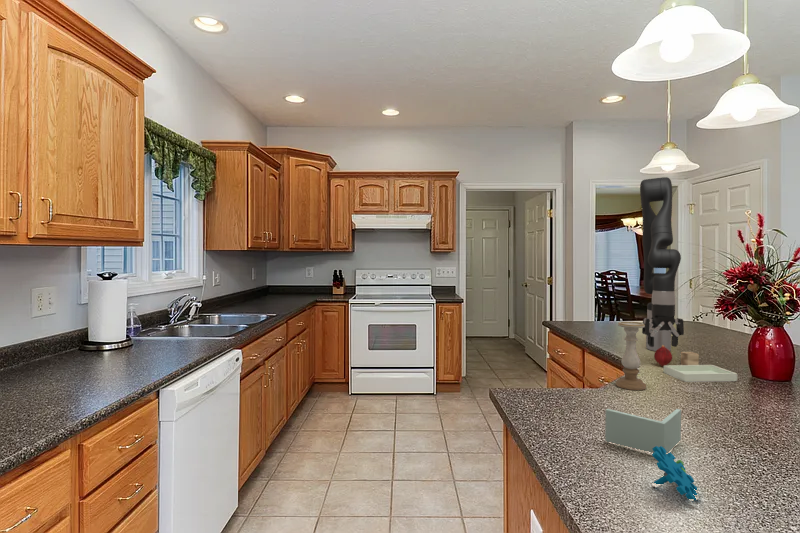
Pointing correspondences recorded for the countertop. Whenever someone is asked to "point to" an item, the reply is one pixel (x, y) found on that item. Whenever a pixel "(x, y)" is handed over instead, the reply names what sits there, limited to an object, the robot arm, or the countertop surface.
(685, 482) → the teal irregular piece
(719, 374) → the tray
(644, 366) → the countertop surface
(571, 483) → the countertop surface
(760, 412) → the countertop surface
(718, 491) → the countertop surface
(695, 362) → the maple block
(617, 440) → the right angle wall
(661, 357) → the pomegranate
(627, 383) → the candle holder
